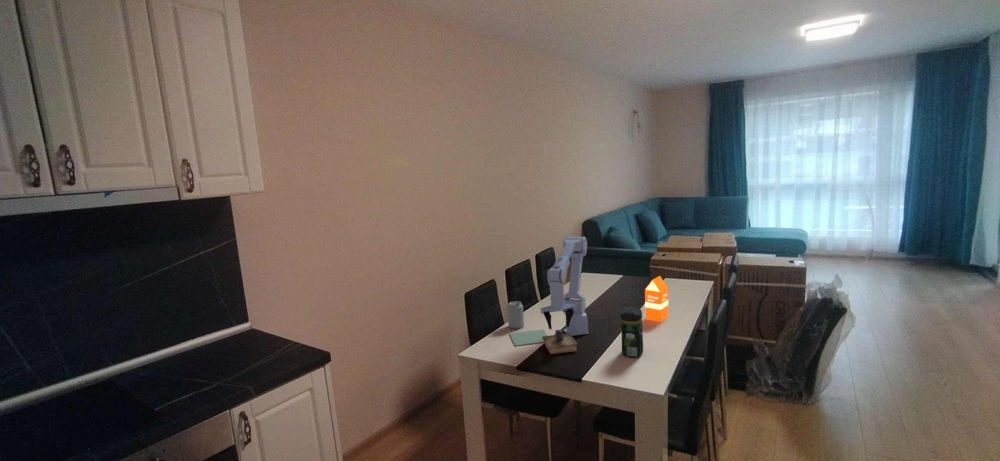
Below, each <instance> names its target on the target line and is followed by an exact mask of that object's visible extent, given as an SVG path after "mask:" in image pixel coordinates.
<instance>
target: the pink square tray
mask: <svg viewBox="0 0 1000 461" xmlns="http://www.w3.org/2000/svg"><path fill="white" fill-rule="evenodd" d="M544 344H545V345H544ZM543 345H544V346H545V348H546V350H547V351H548V352H549V354H550V355H557V354H562V353H563V354H565V353H572V352H577V346H571V347H563V348H556V349H549V348H548V346H547V345H546V343H545V341H544V343H543Z"/></svg>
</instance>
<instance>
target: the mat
mask: <svg viewBox="0 0 1000 461" xmlns="http://www.w3.org/2000/svg"><path fill="white" fill-rule="evenodd" d="M509 336H510V338H511V340H512V342H513V345H514V347H521V346H528V345H536V344H544V340H543V338H542V337H543V336H548V334H547V333H546V332H545V330H544V329H536V330H526V331H519V332H511V333H509Z"/></svg>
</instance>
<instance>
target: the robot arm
mask: <svg viewBox="0 0 1000 461" xmlns="http://www.w3.org/2000/svg"><path fill="white" fill-rule="evenodd" d="M562 246H563V250H562V252H561V255H560V256H558V257H557V259H556V260H555V262H554V264H553V266H552V267H551V268H550V269H548V270H547V273H546V280H547V284H548V286H549V292H550V305H549V306H543V307H540V313H541V315H544V318H545V320H546V323H547V326H548V329H549V330H550V331H551V330H552V315H551V313H554V312H563V313H564V315H565V328H563V332H565V334H567V333H569V334H570V335H571V336H572V337H573V336H581V335H588V334H589V320H588V316H587V313H586V312H585V310H586V298H585V296H583V295H582V294H581V293H580V290H581V280H582V268H583V260H584V257H585V256H586V255H587V251H588V239H587V238H586V236H564V238H563V239H562ZM570 259H571V262H570ZM570 264H571V265H570ZM569 266H570V275H569V286H568V292H567V293H565V286H564V285H565V280H566V277H567V276H566V275H567V270H568V268H569Z"/></svg>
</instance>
